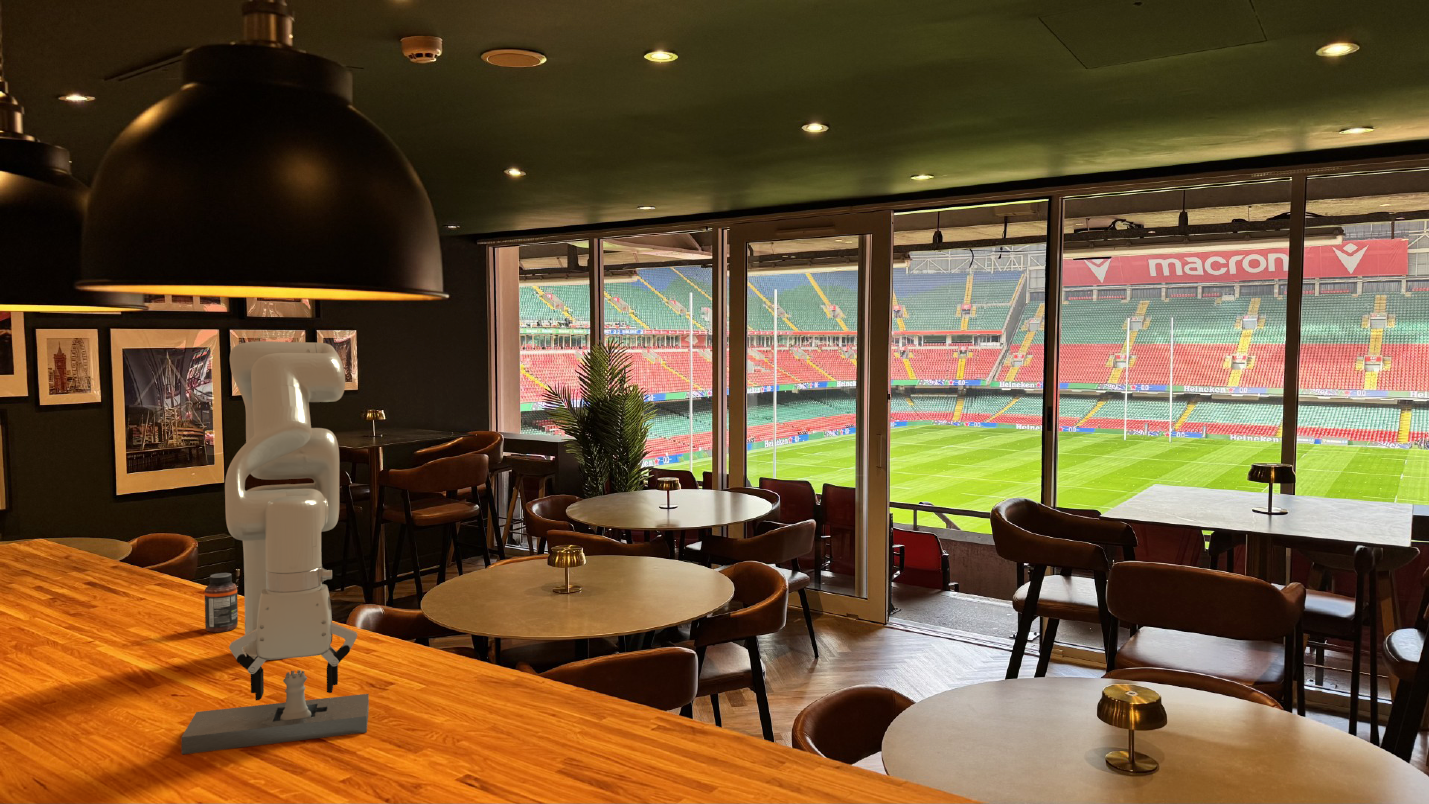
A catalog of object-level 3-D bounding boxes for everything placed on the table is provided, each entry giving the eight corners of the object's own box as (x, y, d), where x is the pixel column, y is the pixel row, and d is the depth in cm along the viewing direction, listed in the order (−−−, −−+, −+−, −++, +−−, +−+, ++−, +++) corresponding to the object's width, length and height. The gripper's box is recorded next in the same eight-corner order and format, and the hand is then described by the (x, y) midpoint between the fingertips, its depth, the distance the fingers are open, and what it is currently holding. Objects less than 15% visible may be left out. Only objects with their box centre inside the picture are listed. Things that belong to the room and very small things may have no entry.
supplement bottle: (208, 626, 190) (208, 572, 189) (240, 624, 192) (239, 570, 191) (202, 634, 184) (201, 578, 184) (234, 631, 186) (233, 576, 185)
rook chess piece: (318, 722, 137) (318, 669, 137) (297, 733, 133) (297, 679, 132) (293, 718, 138) (293, 666, 138) (272, 730, 134) (271, 676, 134)
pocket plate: (196, 727, 136) (196, 711, 135) (368, 708, 143) (368, 693, 143) (181, 754, 126) (181, 737, 126) (366, 732, 134) (366, 716, 134)
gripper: (357, 570, 141) (358, 679, 142) (233, 578, 136) (234, 691, 136) (355, 581, 134) (356, 695, 135) (224, 590, 128) (225, 709, 129)
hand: (295, 693), depth 136 cm, fingers open, 9 cm apart
